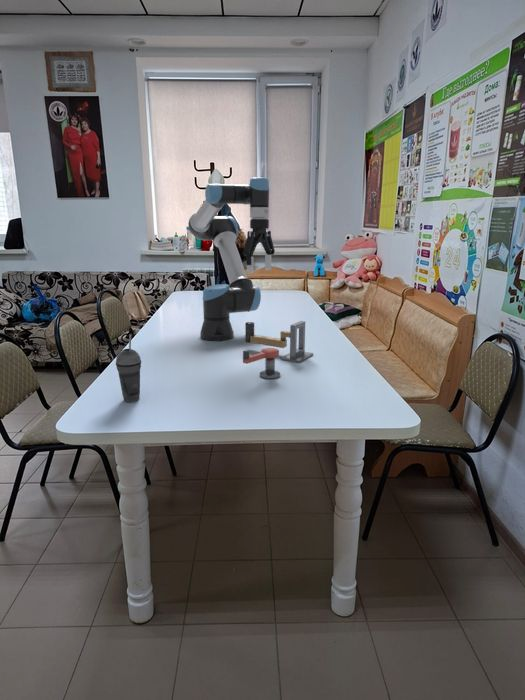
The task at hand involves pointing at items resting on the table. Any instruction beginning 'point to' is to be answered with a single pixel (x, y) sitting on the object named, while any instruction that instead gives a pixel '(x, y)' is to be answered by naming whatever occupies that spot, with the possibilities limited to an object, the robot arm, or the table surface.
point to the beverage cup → (129, 373)
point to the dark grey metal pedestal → (269, 369)
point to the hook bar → (263, 339)
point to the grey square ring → (295, 353)
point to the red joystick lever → (260, 355)
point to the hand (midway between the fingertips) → (259, 271)
